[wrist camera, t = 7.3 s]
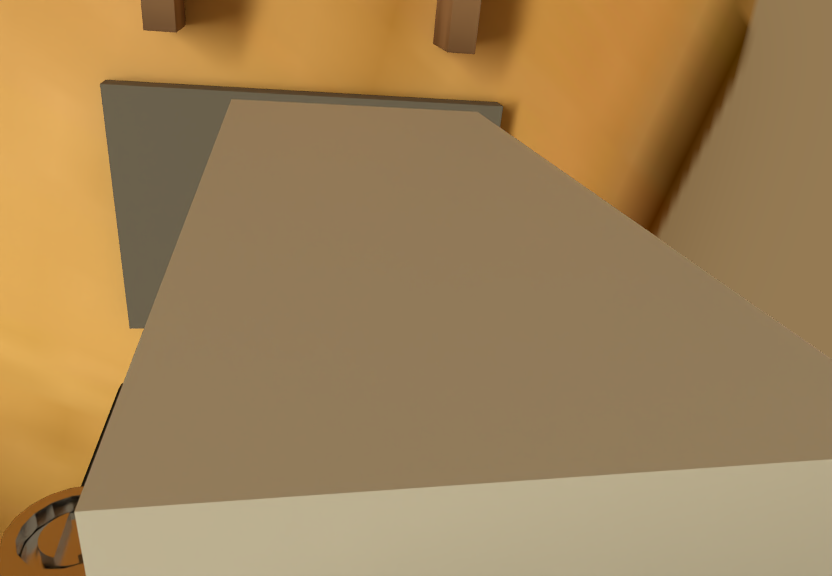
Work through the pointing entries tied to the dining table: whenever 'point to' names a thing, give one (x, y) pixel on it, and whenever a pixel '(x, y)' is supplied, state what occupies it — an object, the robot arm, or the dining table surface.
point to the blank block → (447, 376)
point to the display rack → (450, 34)
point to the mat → (188, 162)
